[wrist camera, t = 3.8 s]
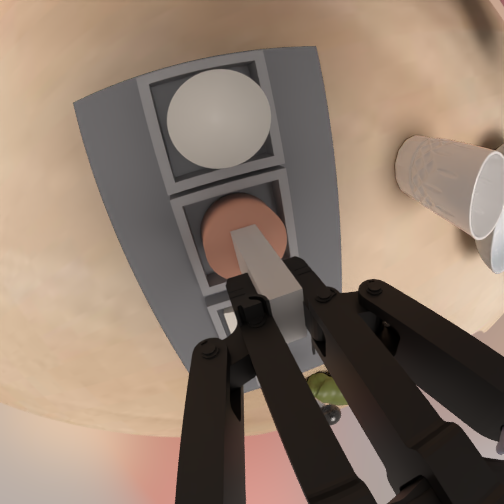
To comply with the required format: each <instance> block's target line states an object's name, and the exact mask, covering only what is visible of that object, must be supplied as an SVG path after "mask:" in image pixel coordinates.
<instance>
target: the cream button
mask: <svg viewBox="0 0 504 504" xmlns="http://www.w3.org/2000/svg"><path fill="white" fill-rule="evenodd" d="M270 125H271V110H270V105H269V102H268V99H267V97H266V95H265V93H264V92H263V90H262V89H261V88H260V86H259V85H258V84H257V83H256V82H255V81H253V80H252V79H251V78H249V77H248V76H246V75H244V74H242V73H239V72H237V71H233V70H227V69H214V70H208V71H205V72H201V73H199V74H197V75H195V76H193V77H191V78H190V79H188V80H187V81H186V82H185V83H183V84H182V85H181V86H180V88H179V89H178V90H177V91H176V93H175V94H174V96H173V98H172V100H171V102H170V105H169V108H168V113H167V127H168V132H169V135H170V138H171V140H172V142H173V144H174V146H175V147H176V149H177V150H178V151H179V152H180V153H181V154H182V155H183V156H184V157H185V158H186V159H188V160H189V161H191V162H192V163H195V164H197V165H199V166H202V167H206V168H212V169H222V168H229V167H233V166H236V165H239V164H241V163H243V162H245V161H246V160H248V159H250V158H251V157H252V156H253V155H254V154H255V153H256V152H257V151H258V150H259V149H260V148H261V147H262V145H263V144H264V142H265V140H266V138H267V136H268V133H269V130H270Z"/></svg>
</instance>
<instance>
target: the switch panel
mask: <svg viewBox="0 0 504 504" xmlns="http://www.w3.org/2000/svg"><path fill="white" fill-rule="evenodd" d="M214 69H227V70H233V71H237V72H239V73H242V74H244V75H246V76H248V77H249V78H251V79H252V80H253V81H255V82H256V83H257V84H258V85H259V86H260V88H261V89H262V90H263V92H264V93H265V95H266V97H267V99H268V102H269V105H270V110H271V125H270V130H269V133H268V136H267V138H266V140H265V142H264V144H263V145H262V147H261V148H260V149H259V150H258V151H257V152H256V153H255V154H254V155H253V156H252V157H251V158H250V159H248V160H246V161H245V162H243V163H241V164H239V165H236V166H233V167H229V168H222V169H212V168H206V167H202V166H199V165H197V164H195V163H192V162H191V161H189V160H188V159H186V158H185V157H184V156H183V155H182V154H181V153H180V152H179V151H178V150H177V149H176V147H175V146H174V144H173V142H172V140H171V138H170V135H169V132H168V127H167V113H168V108H169V105H170V102H171V100H172V98H173V96H174V94H175V93H176V91H177V90H178V89H179V88H180V86H181V85H182V84H183V83H185V82H186V81H187V80H188V79H190V78H191V77H193V76H195V75H197V74H199V73H201V72H205V71H208V70H214ZM73 104H74V109H75V113H76V117H77V121H78V125H79V128H80V132H81V136H82V139H83V143H84V146H85V149H86V153H87V156H88V159H89V162H90V165H91V169H92V172H93V175H94V178H95V180H96V183H97V186H98V189H99V192H100V195H101V197H102V200H103V203H104V205H105V208H106V210H107V213H108V216H109V218H110V221H111V223H112V226H113V228H114V230H115V233H116V235H117V238H118V240H119V242H120V244H121V247H122V249H123V251H124V254H125V256H126V258H127V260H128V262H129V264H130V267H131V269H132V271H133V273H134V275H135V277H136V279H137V281H138V283H139V285H140V287H141V289H142V291H143V293H144V295H145V297H146V299H147V301H148V303H149V305H150V307H151V309H152V311H153V312H154V314H155V316H156V318H157V320H158V322H159V323H160V325H161V327H162V329H163V331H164V332H165V334H166V336H167V338H168V339H169V341H170V343H171V344H172V346H173V348H174V350H175V351H176V353H177V355H178V356H179V358H180V359H181V361H182V363H183V364H184V366H185V367H186V369H187V371H188V372H190V365H191V359H192V352H193V350H194V347H195V346H196V345H197V344H198V343H199V342H201V341H202V340H204V339H208V338H219V339H222V340H223V339H225V338H226V337H228V336H229V335H230V334H231V332H230V330H229V327H228V324H227V322H226V319H225V316H224V308H227V307H230V306H232V305H231V301H230V298H229V295H228V292H227V289H226V282H227V279H225V278H223V277H221V276H220V275H218V274H217V273H216V272H215V271H214V270H213V269H212V268H211V266H210V265H209V263H208V261H207V258H206V254H205V250H204V246H203V242H202V238H201V223H202V220H203V217H204V215H205V213H206V211H207V210H208V209H209V207H210V206H211V205H212V204H213V203H214V202H216V201H217V200H219V199H220V198H222V197H224V196H227V195H230V194H234V193H246V194H250V195H253V196H255V197H257V198H259V199H261V200H262V201H263V202H264V203H265V204H266V205H267V206H268V207H269V208H270V209H271V210H272V211H273V212H274V213H275V214H276V215H277V216H278V217H279V218H280V219H281V221H282V222H283V224H284V227H285V229H286V233H287V245H286V249H285V252H284V255H283V257H282V258H281V260H285V259H288V258H291V257H294V256H297V257H299V258H301V259H303V260H304V261H305V262H306V263H307V264H308V266H309V267H310V268H311V269H312V271H314V272H315V274H316V275H317V276H318V277H319V278H320V279H321V281H322V282H323V283H324V284H325V285H326V286H329V287H333V288H335V289H336V290H338V291H339V292H340V293H342V267H341V235H340V216H339V201H338V188H337V177H336V167H335V157H334V149H333V141H332V133H331V126H330V119H329V112H328V106H327V100H326V94H325V88H324V83H323V77H322V72H321V67H320V62H319V57H318V53H317V48H316V46H302V47H282V48H269V49H259V50H251V51H243V52H236V53H230V54H224V55H218V56H213V57H208V58H203V59H198V60H194V61H189V62H185V63H181V64H177V65H173V66H170V67H166V68H163V69H159V70H156V71H152V72H149V73H146V74H143V75H140V76H137V77H134V78H131V79H128V80H126V81H123V82H120V83H118V84H115V85H112V86H110V87H107V88H105V89H103V90H100V91H98V92H95V93H93V94H91V95H89V96H86V97H84V98H82V99H80V100H78V101H76V102H74V103H73ZM287 345H288V347H289V349H290V351H291V353H292V355H293V357H294V358H295V360H296V362H297V364H298V366H299V368H300V370H301V372H302V373H303V372H305V371H308V370H310V369H313V368H315V367H318V366H320V365H323V364H324V363H323V361H322V360H321V358H320V356H319V355H318V353H317V351H316V349H315V355H313V353H312V343H311V334H310V333H309V331H308V329H307V336H306V337H303V338H301V339H298V340H295V341H293V342H290V343H287ZM258 388H261V387H260V384H259V381H258V379H257V376H256V377H254V378H253V379H251V380H250V381H248V382H247V383H245V384H244V385H243V391H244V393H246V392H249V391H252V390H255V389H258Z"/></svg>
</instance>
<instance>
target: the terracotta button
mask: <svg viewBox="0 0 504 504" xmlns="http://www.w3.org/2000/svg"><path fill="white" fill-rule="evenodd" d="M253 224H256V226H257V227H258V229H259V230H260V231H261V233H262V234H263V235H264V237H265V238H266V239H267V241H268V242H269V243H270V245H271V246H272V247H273V249H274V250H275V251H276V253H277V254H278V256H279V257H280V258H282V257H283V255H284V252H285V249H286V245H287V233H286V229H285V227H284V224H283V222H282V221H281V219H280V218H279V217H278V216H277V215H276V214H275V213H274V212H273V211H272V210H271V209H270V208H269V207H268V206H267V205H266V204H265V203H264V202H263V201H262V200H261V199H259V198H257V197H255V196H253V195H250V194H246V193H234V194H230V195H227V196H224V197H222V198H220V199H219V200H217V201H216V202H214V203H213V204H212V205H211V206H210V207H209V209H208V210H207V211H206V213H205V215H204V217H203V220H202V223H201V238H202V242H203V246H204V250H205V254H206V258H207V261H208V263H209V265H210V266H211V268H212V269H213V270H214V271H215V272H216V273H217V274H218V275H220V276H221V277H223V278H225V279H228V278H231V277H234V276H237V275H241V274H242V273H241V271H240V267H239V264H238V260H237V256H236V252H235V249H234V245H233V241H232V237H231V233H230V231H233V230H237V229H240V228H243V227H247V226H250V225H253Z"/></svg>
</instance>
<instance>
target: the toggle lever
mask: <svg viewBox="0 0 504 504" xmlns="http://www.w3.org/2000/svg"><path fill="white" fill-rule="evenodd" d="M315 399H316V401H317V403H318V404H319V406H320V408H321V410H322V412H323V414H324V416H325V418H326V420H327V422H328V423H329V425H333V424H336V423H337V422H338V421H339V419H340V417H341V411H340V409H339V408H338V407H337V406H336V405H333V404H329V405H325V404H324V403H322V402H321V401H320V400H318V399H317V398H315Z"/></svg>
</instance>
